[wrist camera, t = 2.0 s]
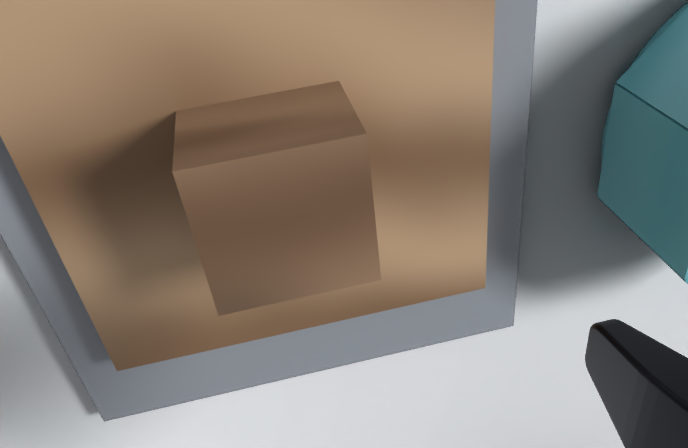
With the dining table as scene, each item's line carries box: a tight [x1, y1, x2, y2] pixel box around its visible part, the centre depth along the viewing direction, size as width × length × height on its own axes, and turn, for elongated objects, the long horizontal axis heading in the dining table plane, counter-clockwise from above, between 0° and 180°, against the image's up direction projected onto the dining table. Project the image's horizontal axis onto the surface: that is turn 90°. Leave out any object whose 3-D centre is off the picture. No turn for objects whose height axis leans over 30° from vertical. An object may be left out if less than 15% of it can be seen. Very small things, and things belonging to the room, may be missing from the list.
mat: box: [0, 0, 537, 421], centre depth 17 cm, size 18×15×1 cm
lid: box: [0, 0, 495, 371], centre depth 15 cm, size 12×12×4 cm
